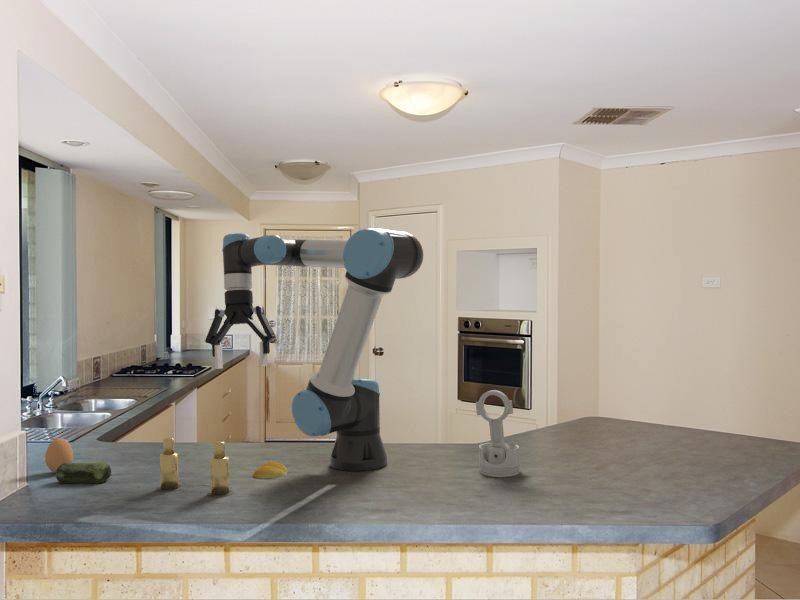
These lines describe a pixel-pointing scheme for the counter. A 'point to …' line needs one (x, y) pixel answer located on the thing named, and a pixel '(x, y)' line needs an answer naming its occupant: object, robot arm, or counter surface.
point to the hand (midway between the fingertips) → (241, 367)
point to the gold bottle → (219, 470)
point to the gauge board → (195, 484)
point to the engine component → (497, 442)
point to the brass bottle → (168, 466)
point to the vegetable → (83, 472)
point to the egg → (58, 454)
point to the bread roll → (270, 471)
